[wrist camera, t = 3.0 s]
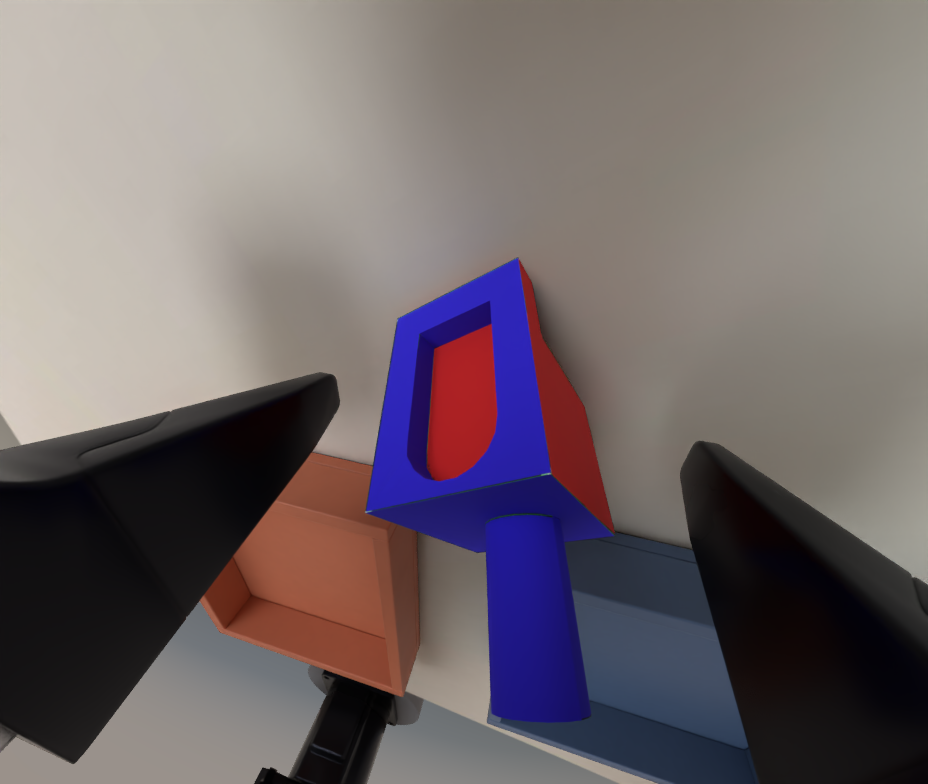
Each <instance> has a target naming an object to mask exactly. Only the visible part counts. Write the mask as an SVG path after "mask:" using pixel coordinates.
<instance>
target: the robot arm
mask: <svg viewBox="0 0 928 784" xmlns="http://www.w3.org/2000/svg"><path fill="white" fill-rule="evenodd" d="M339 405H340V398H339V392H338V385H337V380H336V377H335V376H334V375H332V374H327V373H322V372H319V373H315V374H311V375H307V376H303V377H299V378H295V379H291V380H287V381H284V382H280V383H276V384H272V385H268V386H264V387H260V388H257V389H253V390H249V391H245V392H241V393H237V394H233V395H229V396H226V397H222V398H218V399H214V400H210V401H206V402H202V403H198V404H195V405H191V406H187V407H183V408H179V409H175V410H173V411H171V412H170V411H167V412H163V413H160V414H156V415H152V416H148V417H144V418H140V419H136V420H132V421H128V422H124V423H120V424H115V425H111V426H106V427H102V428H98V429H93V430H89V431H85V432H80V433H76V434H71V435H66V436H62V437H57V438H53V439H48V440H44V441H39V442H35V443H30V444H25V445H21V446H16V447H12V448H8V449H3V450H0V752H1V751H2V750H3V749H4V748H5V747H6V746H7V745H8V744H9V743H10V742H11V741H12V740H13V739H14V738H15V737H17V738H19V739H21V740H23V741H26V742H28V743H30V744H32V745H34V746H36V747H38V748H40V749H42V750H44V751H46V752H48V753H51V754H53V755H55V756H57V757H59V758H61V759H63V760H65V761H67V762H69V763H71V764H74V763H76V762H77V761H78V759H79V758H80V757H81V756H82V755H83V754H84V753H85V751H86V750H87V749H88V748H89V746H90V745H91V744H92V742H93V741H94V740H95V739H96V737H97V736H98V735H99V733H100V732H101V731H102V729H103V728H104V727H105V725H106V724H107V723H108V721H109V720H110V719H111V717H112V716H113V715H114V713H115V712H116V711H117V709H118V708H119V707H120V706H121V704H122V703H123V702H124V700H125V699H126V698H127V696H128V695H129V694H130V692H131V691H132V690H133V688H134V687H135V686H136V684H137V683H138V682H139V680H140V679H141V678H142V676H143V675H144V674H145V672H146V671H147V670H148V669H149V667H150V666H151V664H152V663H153V662H154V660H155V659H156V658H157V657H158V655H159V654H160V653H161V651H162V650H163V649H164V647H165V646H166V645H167V643H168V642H169V641H170V639H171V638H172V637H173V635H174V634H175V633H176V631H177V630H178V629H179V627H180V626H181V625H182V624H183V622H184V621H185V620H186V617H187V616H188V615H189V614H190V612H191V611H192V610H193V609H194V607H195V606H196V605H197V603H198V602H199V601H200V599H201V598H202V597H203V596H204V594H205V593H206V592H207V590H208V589H209V588H210V586H211V585H212V584H213V582H214V581H215V580H216V578H217V577H218V576H219V574H220V573H221V572H222V570H223V569H224V568H225V567H226V565H227V564H228V563H229V561H230V560H231V559H232V557H233V556H234V555H235V553H236V552H237V551H238V549H239V548H240V547H241V545H242V544H243V543H244V541H245V540H246V539H247V537H248V536H249V535H250V534H251V532H252V531H253V530H254V528H255V527H256V526H257V524H258V523H259V522H260V520H261V519H262V518H263V516H264V515H265V514H266V512H267V511H268V510H269V508H270V507H271V506H272V505H273V503H274V502H275V501H276V499H277V498H278V497H279V495H280V494H281V493H282V491H283V490H284V489H285V487H286V486H287V485H288V483H289V482H290V481H291V479H292V478H293V477H294V475H295V474H296V473H297V472H298V470H299V469H300V468H301V466H302V465H303V464H304V462H305V461H306V460H307V458H308V457H309V456H310V454H311V453H312V451H313V450H314V448H315V447H316V445H317V443H318V442H319V440H320V438H321V437H322V435H323V433H324V432H325V430H326V428H327V427H328V425H329V423H330V422H331V420H332V418H333V417H334V415H335V414H336V412H337V410H338V408H339ZM680 479H681V486H682V492H683V499H684V505H685V512H686V519H687V525H688V531H689V536H690V541H691V544H692V548H693V552H694V555H695V559H696V563H697V566H698V570H699V573H700V577H701V580H702V584H703V587H704V591H705V594H706V598H707V602H708V605H709V609H710V612H711V616H712V619H713V623H714V626H715V630H716V633H717V637H718V640H719V644H720V648H721V651H722V655H723V658H724V662H725V665H726V669H727V672H728V676H729V679H730V683H731V686H732V690H733V694H734V697H735V701H736V704H737V708H738V711H739V715H740V718H741V722H742V725H743V729H744V733H745V736H746V740H747V743H748V747H749V750H750V754H751V757H752V761H753V764H754V768H755V771H756V775H757V779H758V782H759V784H928V585H927V584H926V583H924V582H923V581H921V580H920V579H918V578H915V577H912V576H911V574H910V573H909V572H908V571H906V570H905V569H903V568H902V567H900V566H899V565H897V564H896V563H894V562H893V561H891V560H890V559H888V558H887V557H885V556H884V555H882V554H881V553H879V552H878V551H876V550H875V549H873V548H872V547H871V546H869V545H868V544H866V543H865V542H863V541H862V540H860V539H859V538H857V537H856V536H854V535H853V534H851V533H850V532H848V531H847V530H845V529H844V528H842V527H841V526H839V525H838V524H836V523H835V522H833V521H832V520H831V519H829V518H828V517H826V516H825V515H823V514H822V513H820V512H819V511H817V510H816V509H814V508H813V507H811V506H810V505H808V504H807V503H805V502H804V501H802V500H801V499H799V498H798V497H796V496H795V495H794V494H792V493H791V492H789V491H788V490H786V489H785V488H783V487H782V486H780V485H779V484H777V483H776V482H774V481H773V480H771V479H770V478H768V477H767V476H765V475H764V474H762V473H761V472H759V471H758V470H756V469H755V468H754V467H752V466H751V465H749V464H748V463H746V462H745V461H743V460H742V459H740V458H739V457H737V456H736V455H734V454H733V453H731V452H730V451H728V450H727V449H725V448H724V447H722V446H721V445H719V444H716V443H711V442H705V441H697V442H696V443H695V444H694V445H693V446H692V448H691V450H690V452H689V454H688V456H687V458H686V460H685V462H684V464H683V466H682V468H681V472H680ZM321 676H322V679H323V681H324V684H325V687H326V689H327V692H328V693H327V695H326V697H325V700H324V702H323V704H322V706H321V708H320V710H319V712H318V714H317V716H316V719H315V721H314V723H313V725H312V727H311V729H310V731H309V734H308V736H307V738H306V740H305V742H304V744H303V746H302V748H301V751H300V753H299V755H298V757H297V759H296V762H295V763H294V765H293V767H292V770H291V772H290V774H289V776H288V777H286V776H284V775H282V774H280V773H278V772H277V770H276V769H274V768H270V769H266V768H262V770H261V771H260V773H259V775H258V777H257V779H256V781H255V783H254V784H367V782H368V779H369V776H370V773H371V770H372V767H373V764H374V761H375V758H376V755H377V752H378V749H379V746H380V743H381V740H382V737H383V734H384V731H385V728H386V725H387V724H389V725H392V726H396V724H397V721H398V717H397V709H396V701H395V695H394V694H392V693H390V692H387V691H384V690H381V689H378V688H375V687H373V686H370V685H367V684H364V683H361V682H359V681H356V680H353V679H350V678H347V677H344V676H342V675H339V674H336V673H333V672H330V671H327V670H325V669H324V671H323V673H322V675H321Z"/></svg>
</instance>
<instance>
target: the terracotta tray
mask: <svg viewBox="0 0 928 784" xmlns="http://www.w3.org/2000/svg"><path fill="white" fill-rule="evenodd" d="M372 468H373V466H370V465H365V464H361V463H356V462H352V461H348V460H343V459H339V458H334V457H330V456H326V455H321V454H317V453H311V454H310V456H309V457H308V458H307V460H306V461H305V462H304V464H303V465H302V466H301V468H300V469H299V470H298V472H297V473H296V474H295V475H294V477H293V478H292V479H291V481H290V482H289V483H288V485H287V486H286V487H285V489H284V490H283V491H282V493H281V494H280V495H279V497H278V498H277V499H276V501H275V502H274V503H273V505H272V506H271V507H270V508H269V510H268V511H267V512H266V514H265V515H264V516H263V518H262V519H261V520H260V522H259V523H258V524H257V526H256V527H255V528H254V530H253V531H252V532H251V534H250V535H249V536H248V537H247V539H246V540H245V541H244V543H243V544H242V545H241V547H240V548H239V549H238V551H237V552H236V553H235V555H234V556H233V557H232V559H231V560H230V561H229V563H228V564H227V565H226V567H225V568H224V569H223V570H222V572H221V573H220V574H219V576H218V577H217V578H216V580H215V581H214V582H213V584H212V585H211V586H210V588H209V589H208V590H207V592H206V593H205V594H204V596H203V597H202V598H201V599H200V602H201V604H202V605H203V607H204V608H205V610H206V611H207V613H208V615H209V616H210V618H211V619H212V621H213V623H214V624H215V626H216V627H217V629H218V630H219V632H220V633H223V634H226V635H229V636H232V637H234V638H237V639H240V640H243V641H246V642H248V643H251V644H254V645H257V646H260V647H263V648H266V649H269V650H271V651H274V652H277V653H280V654H283V655H285V656H288V657H291V658H294V659H296V660H299V661H302V662H305V663H308V664H311V665H313V666H316V667H319V668H322V669H325V670H327V671H330V672H333V673H336V674H339V675H342V676H344V677H347V678H350V679H353V680H356V681H359V682H361V683H364V684H367V685H370V686H373V687H375V688H378V689H381V690H384V691H387V692H390V693H392V694H395V695H398V696H401V697H403V696H404V693H405V690H406V686H407V683H408V680H409V677H410V674H411V671H412V668H413V664H414V661H415V658H416V655H417V652H418V649H419V646H420V631H419V593H418V555H417V531H414V530H412V529H409V528H406V527H403V526H400V525H397V524H395V523H392V522H389V521H386V520H383V519H381V518H378V517H375V516H372V515H369V514H366V513H365V509H366V503H367V497H368V492H369V486H370V480H371V474H372Z"/></svg>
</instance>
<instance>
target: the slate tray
mask: <svg viewBox="0 0 928 784" xmlns="http://www.w3.org/2000/svg"><path fill="white" fill-rule="evenodd" d="M564 543H565V549H566V556H567V562H568V568H569V575H570V581H571V587H572V594H573V600H574V606H575V613H576V619H577V625H578V632H579V638H580V644H581V651H582V657H583V664H584V670H585V676H586V683H587V689H588V695H589V702H590V708H591V714H592V715H591V717H590V718H588V719H585V720H581V721H573V722H555V723H545V722H526V721H517V720H510V719H505V718H501V717H497V716H495V715H493V714H492V713H491V696H490V703H489V710H488V717H487V723H488V724H491V725H493V726H496V727H499V728H502V729H505V730H508V731H511V732H513V733H516V734H519V735H522V736H525V737H528V738H530V739H533V740H536V741H539V742H542V743H545V744H547V745H550V746H553V747H556V748H559V749H562V750H564V751H567V752H570V753H573V754H576V755H579V756H581V757H584V758H587V759H590V760H593V761H596V762H599V763H601V764H604V765H607V766H610V767H613V768H616V769H618V770H621V771H624V772H627V773H630V774H633V775H635V776H638V777H641V778H644V779H647V780H650V781H652V782H655V783H658V784H759V782H758V779H757V775H756V771H755V768H754V764H753V761H752V757H751V754H750V750H749V747H748V743H747V740H746V736H745V733H744V729H743V725H742V722H741V718H740V715H739V711H738V708H737V704H736V701H735V697H734V694H733V690H732V686H731V683H730V679H729V676H728V672H727V669H726V665H725V662H724V658H723V655H722V651H721V648H720V644H719V640H718V637H717V633H716V630H715V626H714V623H713V619H712V616H711V612H710V609H709V605H708V602H707V598H706V594H705V591H704V587H703V584H702V580H701V577H700V573H699V570H698V566H697V563H696V559H695V555H694V552H693V550H690V549H686V548H681V547H677V546H673V545H668V544H664V543H660V542H656V541H651V540H647V539H643V538H638V537H634V536H630V535H626V534H621V533H617V532H615V536H614V537H606V538H597V539H589V540H581V541H572V542H564Z"/></svg>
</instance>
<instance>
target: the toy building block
mask: <svg viewBox="0 0 928 784" xmlns="http://www.w3.org/2000/svg"><path fill="white" fill-rule="evenodd" d="M365 513H366V514H369V515H372V516H375V517H378V518H381V519H383V520H386V521H389V522H392V523H395V524H397V525H400V526H403V527H406V528H409V529H412V530H414V531H417V532H420V533H423V534H426V535H428V536H431V537H434V538H437V539H440V540H443V541H445V542H448V543H451V544H454V545H457V546H459V547H462V548H465V549H468V550H471V551H474V552H476V553H480V552H486V566H487V598H488V629H489V660H490V691H491V713H492V714H493V715H495V716H497V717H501V718H505V719H510V720H517V721H526V722H545V723H555V722H573V721H581V720H585V719H588V718H590V717H591V715H592V714H591V708H590V702H589V695H588V689H587V683H586V676H585V670H584V664H583V657H582V651H581V644H580V638H579V632H578V625H577V619H576V613H575V606H574V600H573V594H572V587H571V581H570V575H569V568H568V562H567V556H566V549H565V543H564V542H572V541H581V540H589V539H597V538H606V537H614V536H615V532H614V527H613V523H612V519H611V515H610V511H609V507H608V503H607V498H606V494H605V490H604V486H603V482H602V478H601V474H600V470H599V465H598V461H597V457H596V453H595V449H594V445H593V441H592V436H591V432H590V428H589V424H588V420H587V416H586V412H585V407H584V405H583V404H582V402H581V400H580V399H579V397H578V395H577V394H576V392H575V390H574V389H573V387H572V385H571V384H570V382H569V380H568V378H567V377H566V375H565V373H564V372H563V370H562V368H561V367H560V365H559V363H558V362H557V360H556V358H555V356H554V355H553V353H552V351H551V350H550V348H549V346H548V345H547V343H546V341H545V340H544V338H543V336H542V335H541V331H540V325H539V320H538V314H537V309H536V303H535V298H534V292H533V286H532V282H531V280H530V279H529V277H528V275H527V273H526V271H525V269H524V267H523V265H522V264H521V262H520V260H519V258H518V257H517V258H516V259H514V260H512V261H510V262H508V263H506V264H504V265H502V266H500V267H498V268H496V269H494V270H492V271H490V272H488V273H486V274H484V275H482V276H480V277H478V278H476V279H474V280H472V281H470V282H468V283H466V284H464V285H463V286H461V287H459V288H457V289H455V290H453V291H451V292H449V293H447V294H445V295H443V296H441V297H439V298H437V299H435V300H433V301H431V302H429V303H427V304H425V305H423V306H421V307H419V308H417V309H415V310H413V311H411V312H410V313H408V314H406V315H404V316H402V317H400V318H398V319H397V325H396V331H395V337H394V343H393V349H392V355H391V361H390V367H389V373H388V379H387V385H386V390H385V396H384V402H383V408H382V414H381V420H380V426H379V432H378V438H377V444H376V450H375V456H374V462H373V468H372V474H371V480H370V486H369V492H368V497H367V503H366V509H365Z"/></svg>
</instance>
